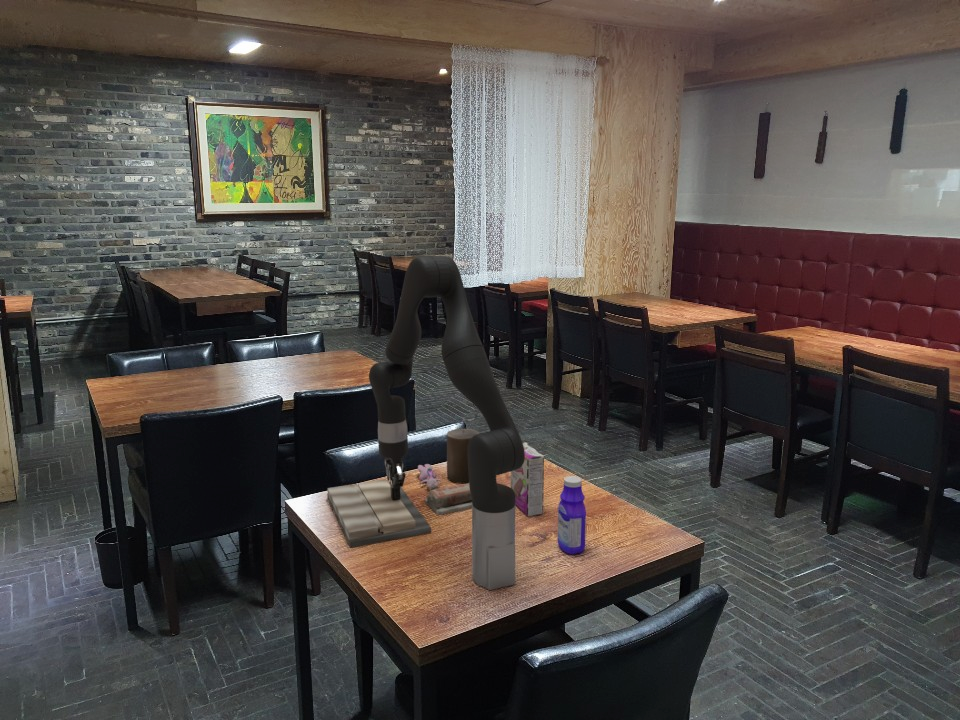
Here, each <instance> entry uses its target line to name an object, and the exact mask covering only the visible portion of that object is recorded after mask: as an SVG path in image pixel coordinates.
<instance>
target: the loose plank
mask: <svg viewBox="0 0 960 720" xmlns="http://www.w3.org/2000/svg"><path fill="white" fill-rule="evenodd" d="M357 485H358V487H359V489H360V490H361V492H362V494H363V495H364V497H365V499H366V500H367V502H368V504H369V505H370V507H371V509H372V510H373V512H374V514H375V516H376V517H377V519H378V521H379V522H380V524H381V526H382V529H379V531H380V532H383V534H386V533H391V532H397V531H402V530H408V529H413V528H415V520H414V518H413V517H412V515H411V514H410V513H409V511H408V510H407V508H406V507H405V505H404V504H403V503H402V501H401V500H394V501H393V500H392V498H391V488H390V484H389V481H388V479H387V478H385V479H378V480H373V481H365V482H359V483H357Z"/></svg>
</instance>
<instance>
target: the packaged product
mask: <svg viewBox="0 0 960 720" xmlns="http://www.w3.org/2000/svg"><path fill="white" fill-rule="evenodd" d="M424 503H425V504H426V503H427V504H426V505H428V507H429V508H430V509H431V510H432V511H433V512H434V513H435V514H436V516H442V515H443V516H444V515H447V514H452V513H457V512H458V513H459V512H462V511H467V510H472V496H471V492H470V487H469V483H462V484H458V485H452V486H446V487H439V489H432V490H431V491H429V490H428V495H427V497H426V498H424Z"/></svg>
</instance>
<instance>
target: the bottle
mask: <svg viewBox="0 0 960 720" xmlns="http://www.w3.org/2000/svg"><path fill="white" fill-rule="evenodd" d="M582 483H583V479H582V478H581V477H579V476H575V475H569V476H566V477H564V479H563V489H562V490H561V491H562V492H561V493H560V495H559V497H560V500H559V503H558V507H557V509H558V510H557V515H558V517H557V544H558V546H559V548H560V549H561V550H562V551H564V552H565V553H566V554H568V555H574V554H579V553H582V552H583V551H584V550H585V548H586V527H587V526H586V524H587V523H586V522H587V520H586V519H587V509H586V505H585V503H584V501H585V497H586V496H585V494H584V492H583V490H582V486H583V485H582Z"/></svg>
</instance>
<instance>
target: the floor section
mask: <svg viewBox="0 0 960 720" xmlns="http://www.w3.org/2000/svg"><path fill="white" fill-rule="evenodd" d="M390 486H391V485H390ZM326 494H327V497H326V498H327V501H328V500H329V501H328V502H329V505H330V507H331V509H332V511H334V512H333V513H335V514H334V516H335V515H336V516H335V517H337V518H336V519H337V522H338V524H339V526H340V528H342V529H341V530H342V532H343V535H344V537H345V539H346V541H347V544H348V546H349V548H350V549H351V548H357V547H363V546H368V545H372V544H379V543H383V542H385V543H386V542H389V541H394V540H400V539H406V538H410V537H411V538H412V537H416V535H417V536H422V535H426V534H431V533H432V527H431V525H430V524H429V523H428V521H427V520H426V519H425V516H423V515H422V513H421V512H420V510H419V509H418V508H417V506H416V505H415V504H414V502H413V501H412V499H410V497H409V495H408V494H407V493H406V491H405V490H404V488H402V487H400V497H401V498H400V500H401V501H402V503H403V504H404V505H405V507H406V508H407V510H408V511H409V513H410V514H411V515H412V517H413V518H414V520H415V528H413V529H408V530H402V531H397V532H391V533H386V534H383V532H380V531H379V529H382V526H381V524H380V522H379V521H378V519H377V517H376V516H375V514H374V512H373V510H372V509H371V507H370V505H369V504H368V502H367V500H366V499H365V497H364V495H363V494H362V492H361V490H360V489H359V487H358V483H352V484H345V485H340V486H339V485H338V486H334V487H333V486H332V487H327V493H326Z"/></svg>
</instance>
